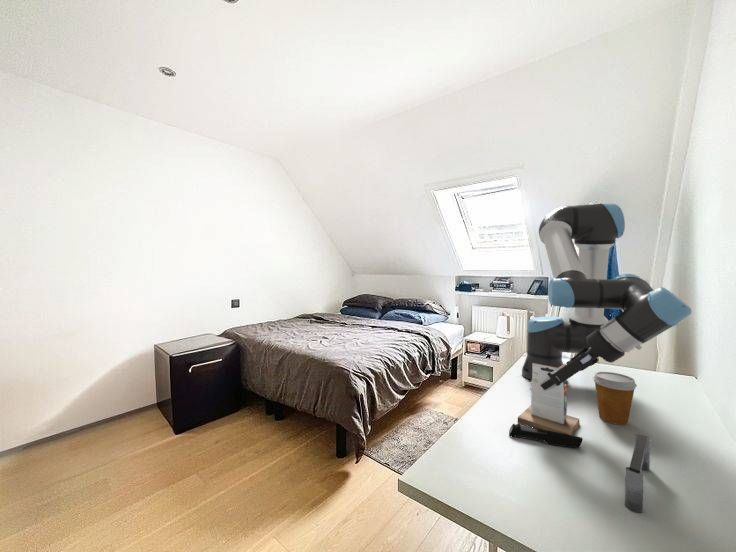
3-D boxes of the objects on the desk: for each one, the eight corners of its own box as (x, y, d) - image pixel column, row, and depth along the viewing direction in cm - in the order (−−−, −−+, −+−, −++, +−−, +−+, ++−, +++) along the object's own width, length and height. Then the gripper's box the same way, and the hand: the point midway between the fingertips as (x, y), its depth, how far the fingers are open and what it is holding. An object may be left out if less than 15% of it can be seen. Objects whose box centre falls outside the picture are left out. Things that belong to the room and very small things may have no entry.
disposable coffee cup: (644, 429, 81) (645, 384, 80) (603, 426, 83) (604, 381, 82) (622, 413, 90) (623, 372, 90) (585, 410, 92) (586, 370, 92)
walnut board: (531, 409, 92) (531, 404, 92) (579, 424, 84) (579, 418, 84) (517, 422, 84) (517, 417, 84) (568, 439, 76) (569, 433, 76)
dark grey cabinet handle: (635, 462, 67) (635, 430, 67) (650, 467, 65) (650, 434, 65) (623, 507, 54) (624, 468, 54) (642, 515, 53) (643, 475, 52)
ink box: (534, 410, 88) (535, 359, 88) (567, 420, 82) (568, 366, 82) (530, 415, 85) (531, 362, 85) (563, 425, 80) (564, 369, 80)
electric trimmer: (583, 455, 70) (584, 441, 70) (509, 438, 77) (509, 425, 77) (580, 446, 74) (581, 433, 74) (509, 431, 80) (509, 419, 80)
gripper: (618, 365, 63) (537, 413, 74) (632, 344, 81) (565, 386, 92) (587, 335, 67) (514, 385, 78) (607, 322, 84) (545, 364, 95)
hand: (542, 386), depth 85 cm, fingers open, 13 cm apart
